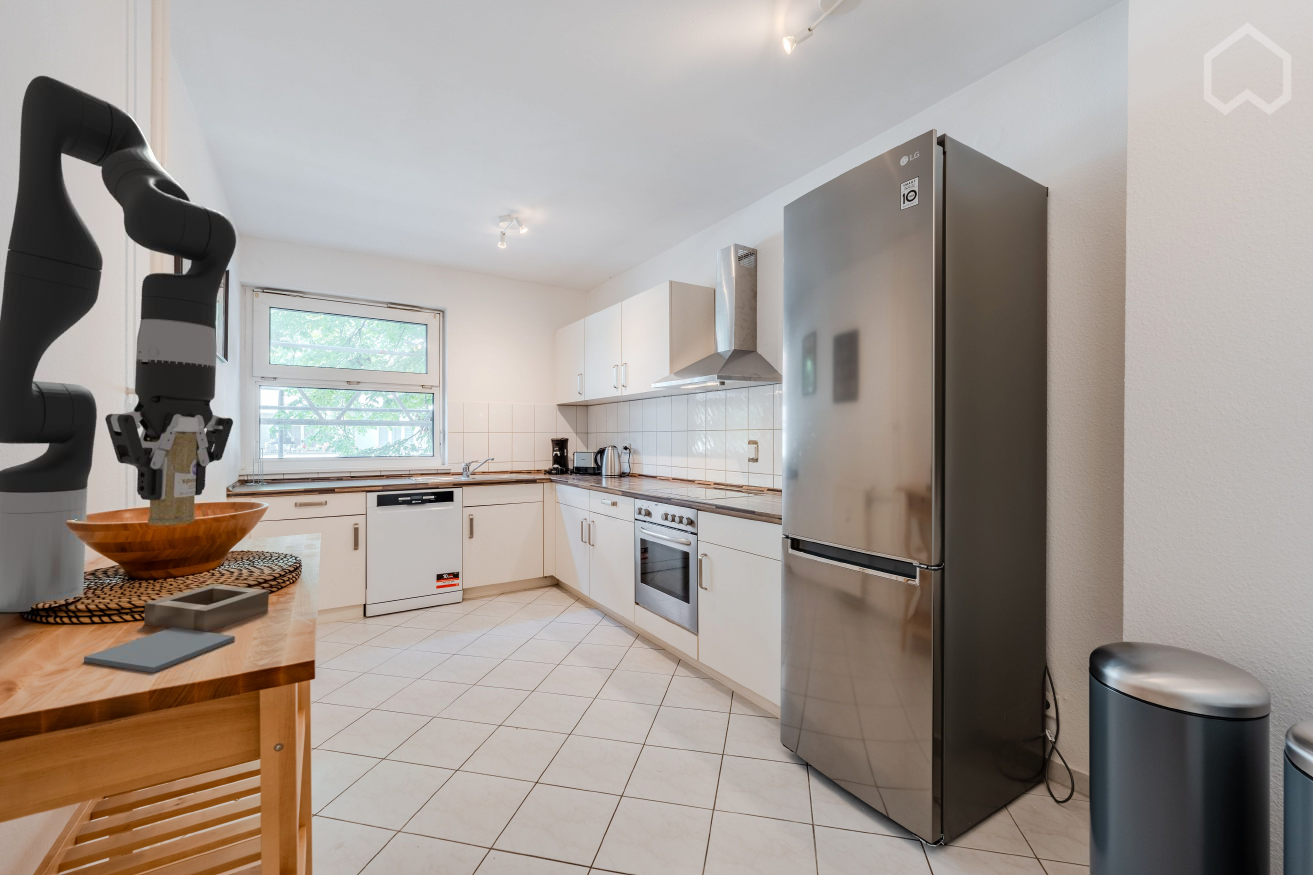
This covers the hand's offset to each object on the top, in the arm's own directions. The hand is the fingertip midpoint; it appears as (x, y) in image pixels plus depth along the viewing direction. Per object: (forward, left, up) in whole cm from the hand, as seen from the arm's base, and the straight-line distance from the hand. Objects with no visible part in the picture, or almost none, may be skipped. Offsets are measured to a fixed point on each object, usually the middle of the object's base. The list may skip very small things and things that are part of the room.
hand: (172, 496), depth 69 cm
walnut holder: (-6, +11, -19) cm, 23 cm away
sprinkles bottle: (0, 0, -3) cm, 3 cm away
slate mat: (0, 0, -19) cm, 19 cm away
